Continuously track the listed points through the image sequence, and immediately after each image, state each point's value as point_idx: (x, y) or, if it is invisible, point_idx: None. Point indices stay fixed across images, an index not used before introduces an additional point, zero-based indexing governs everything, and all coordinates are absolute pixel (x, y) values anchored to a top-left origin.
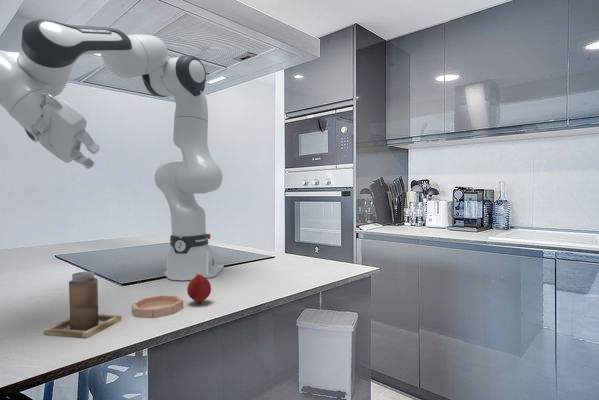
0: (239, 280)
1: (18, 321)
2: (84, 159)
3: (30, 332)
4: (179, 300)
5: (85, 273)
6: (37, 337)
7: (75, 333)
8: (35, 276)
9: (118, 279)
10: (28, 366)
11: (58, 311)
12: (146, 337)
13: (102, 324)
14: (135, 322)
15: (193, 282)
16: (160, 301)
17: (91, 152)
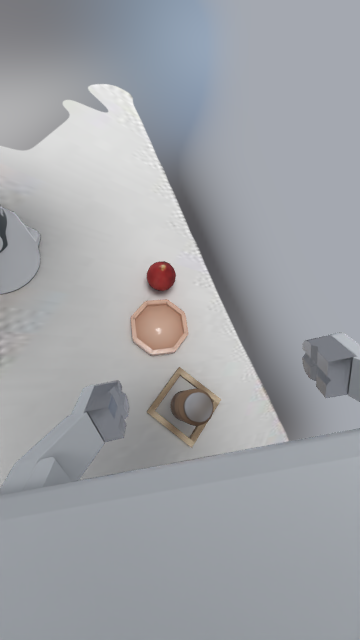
0: (81, 216)
1: None
2: (83, 435)
3: None
4: (165, 302)
5: (199, 404)
6: (195, 452)
7: (213, 411)
8: None
9: None
10: (265, 441)
11: None
12: (238, 346)
13: (201, 385)
14: (193, 353)
15: (169, 278)
16: (141, 321)
17: (314, 375)
